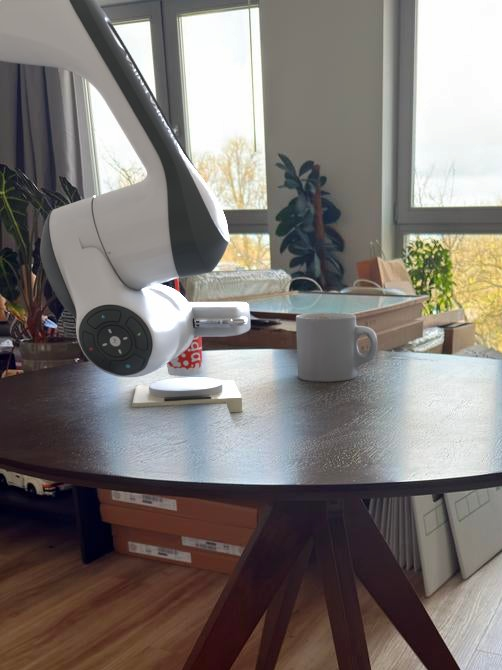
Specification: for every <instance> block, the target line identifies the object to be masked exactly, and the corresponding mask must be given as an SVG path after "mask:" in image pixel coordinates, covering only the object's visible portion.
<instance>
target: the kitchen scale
mask: <svg viewBox="0 0 502 670" xmlns="http://www.w3.org/2000/svg"><path fill="white" fill-rule="evenodd" d="M132 399H133V400H132V408H143V407H159V406H160V407H161V406H178V405H195V404H214V403H215V404H216V403H225V404H226V407H227V409H228V412H229V413H242V412H243V411H244V409H243V398H242V395H241V393H240V391H239V389H238V387H237V385H236V383H235V381H234V380H231V379H229V380H220V379H218V378H212V377H199V376H198V377H196V376H195V377H193V376H191V377H190V376H187V377H176V378H175V377H173V378H166V379H162V380H157V381H153V382H151V383H150V384H149V383H147V384H136V385H135V390H134V394H133V398H132Z"/></svg>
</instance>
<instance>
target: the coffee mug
mask: <svg viewBox="0 0 502 670" xmlns="http://www.w3.org/2000/svg"><path fill="white" fill-rule="evenodd" d="M295 329H296V331H295V332H296V333H295V334H296V354H297V377H298V378H299V379H300V380H303V381H309V382H323V383H324V382H325V383H330V382H331V383H333V382H343V381H350V380H353V379H356V378H357V376H358V369H359V368H360V366H362V365H365V364H367V363H369V362H371V361H372V360H373V359H374V358H375V357H376V355H377V351H378V345H379V344H378V337H377V333H376V332H375V330H374V329H373V328H371V327H368V326H363V325H357V316H356V314H354V313H345V312H344V313H341V312H313V313H301V314H297V315H296V316H295ZM362 335H363V336H366V337H367V338H368V340H369V350H368V351H367V353H362V352H361V351H360V350H359V347H358V341H359V338H360V337H361V336H362Z"/></svg>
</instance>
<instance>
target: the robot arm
mask: <svg viewBox="0 0 502 670" xmlns="http://www.w3.org/2000/svg"><path fill="white" fill-rule="evenodd" d="M0 62H5V63H12V64H20V65H27V66H30V65H31V66H39V67H49V68H56V69H60V70H64V71H67V72H71V73H73V74H76V75H77V76H80V77H81V78H83V79H84V80H85V81H87V82H88V83H89V84H90V85H92V86H93V87H94V89H96V91H97V92H98V93H99V95H100V96H101V97H102V98H103V100H104V101H105V104H106V105H107V107H108V108H109V110H110V112H111V113H112V115H113V117H114V119H115V120H116V122H117V124H118V125H119V128H120V129H121V130H122V132H123V134H124V136H125V137H126V139H127V140H128V142H129V144H130V146H131V147H132V149H133V150H134V152H135V154H136V156H137V157H138V159H139V161H140V162H141V164H142V165H143V167H144V169H145V171H146V177H145V178H143V179H142V180H140V181H138V182H135V183H132V184H129V185H127V186H124V187H120V188H118V189H117V188H116V189H114V190H111V191H108V192H104V193H101V194H98V195H93V196H89V197H86V198H82V199H80V200H77V201H74V202H70V203H68V204H65V205H62V206H59V207H57V208H53V209H51V210H50V212H49V213H48V215H47V217H46V219H45V222H44V224H43V227H42V232H41V237H40V244H39V245H40V246H39V256H40V260H41V263H42V267H43V270H44V273H45V276H46V278H47V280H48V282H49V285H50V287H51V289H52V291H53V292H54V294H55V296H56V298H57V300H58V301H59V302H60V304H61V305H62V307H63V308H64V309H65V310H66V311H67V312H68V313H69V314H71V316H73V318H75V319H76V322H75V332H76V333H75V334H76V340H77V342H78V345H79V348H80V349H81V351H82V353H83V355H84V356H85V358H86V359H87V360H88V361H89V362H90V363H91V364H92V365H93V366H95V367H96V368H97V369H99V370H100V371H102V372H104V373H106V374H108V375H111V376H114V377H119V378H138V377H143V376H146V375H149V374H151V373H154V372H156V371H157V370H159V369H161V368H163V367H164V366H166V365H167V363H168V362H170V361H171V360H173V359H175V358H176V357H178V356H179V355H180V354H182V353H183V352H184V351H186V350H187V348H188V347H189V346H190V344H191V343H192V341H193V338H194V337H202V338H203V337H205V338H206V337H210V338H211V337H212V338H213V337H233V336H239V335H243V334H245V333H247V332H249V331H250V330H251V328H252V327H251V326H252V325H251V311H250V310H251V309H250V304H249V303H247V302H244V301H193V302H192V301H188V300H187V299H186V297H184V296H183V295H182V294H181V292H180V291H179V292H180V293H179V292H177V291H176V289H175V288H172V287H170V286H167V285H164V284H163V283H167V282H170V281H173V280H175V279H176V278H178V279H179V278H180V279H184V278H185V279H186V278H190V277H195V276H200V275H205V274H208V273H209V274H210V273H212V272H214V270H215V269H216V267H217V266H218V265H219V263H220V262H221V260H222V258H223V256H224V255H225V253H226V250H227V248H228V245H229V243H230V233H229V229H228V223H227V219H226V216H225V214H224V211H223V209H222V207H221V204H220V202H219V201H218V199H217V197H216V196H215V194H214V193H213V191H212V190H211V188H210V187H209V186H208V185H207V183H206V182H205V180H204V179H203V178H202V176H201V175H200V173H199V171H198V170H197V168H196V166H195V165H194V163H193V162H192V160H191V158H190V156H189V155H188V153H187V151H186V149H185V148H184V146H183V145H182V143H181V141H180V139H179V138H178V136H177V134H176V132H175V131H174V129H173V127H172V125H171V123H170V121H169V120H168V118H167V117H166V114H165V113H164V111H163V109H162V107H161V105H160V103H159V102H158V100H157V99H156V97H155V95H154V93H153V91H152V89H151V88H150V86H149V84H148V82H147V80H146V78H145V77H144V75H143V74H142V72H141V70H140V68H139V67H138V65H137V63H136V61H135V59H134V58H133V56H132V55H131V53H130V51H129V50H128V48H127V45H125V43H124V41H123V39H122V38H121V36H120V34H119V33H118V31H117V29H116V28H115V27H114V25H113V23H112V21H111V19H110V18H109V17H108V16H107V14H106V12H105V11H104V10H103V9H102V7H101V6H100V3H98V2H97V1H96V0H0Z"/></svg>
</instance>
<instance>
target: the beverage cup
mask: <svg viewBox="0 0 502 670" xmlns="http://www.w3.org/2000/svg"><path fill="white" fill-rule="evenodd" d="M179 282H180V281H179V278H176V279H174V290H176V291H177V292H179V293H180V294H181V292H180V283H179ZM202 338H203V337H194V338H193V341H192V343H191V344H190V346H189V347H188V348H187V350H186V351H184V352H183V353H182V354H180V355H179V356H178V357H176V358H175V359H173V360H171V361H170V362H168V363H167V364H166V368H167V372H168V375H169V376H173V377H190V376H191V377H192V376H197V375H201V374H203V341H202V340H203V339H202Z"/></svg>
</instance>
